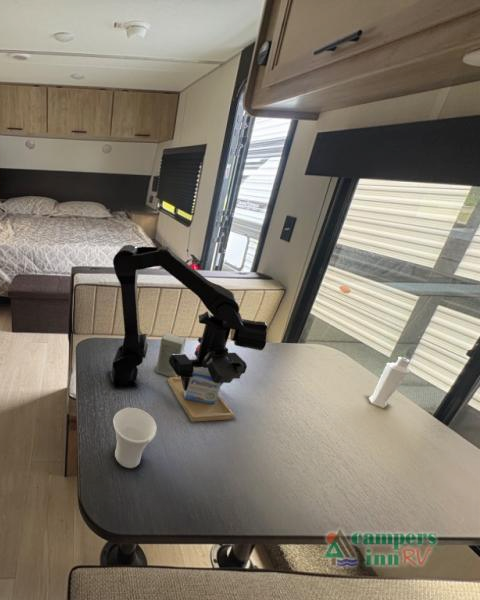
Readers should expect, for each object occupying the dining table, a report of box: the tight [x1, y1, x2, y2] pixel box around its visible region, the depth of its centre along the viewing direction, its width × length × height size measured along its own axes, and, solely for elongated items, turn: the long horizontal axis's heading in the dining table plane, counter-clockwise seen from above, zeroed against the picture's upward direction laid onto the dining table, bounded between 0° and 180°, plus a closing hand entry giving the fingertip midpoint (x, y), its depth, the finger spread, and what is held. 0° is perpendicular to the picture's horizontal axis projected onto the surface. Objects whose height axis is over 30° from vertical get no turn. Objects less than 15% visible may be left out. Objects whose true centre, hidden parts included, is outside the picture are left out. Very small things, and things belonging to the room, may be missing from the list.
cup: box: [112, 407, 158, 469], centre depth 63 cm, size 9×9×10 cm
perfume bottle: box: [368, 356, 412, 409], centre depth 82 cm, size 5×4×15 cm
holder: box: [167, 376, 235, 423], centre depth 83 cm, size 11×15×2 cm
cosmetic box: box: [155, 332, 187, 378], centre depth 91 cm, size 6×4×12 cm
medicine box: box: [183, 368, 222, 404], centre depth 81 cm, size 8×4×9 cm, turn 79°
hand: (200, 389), depth 81 cm, fingers closed on medicine box, 9 cm apart
